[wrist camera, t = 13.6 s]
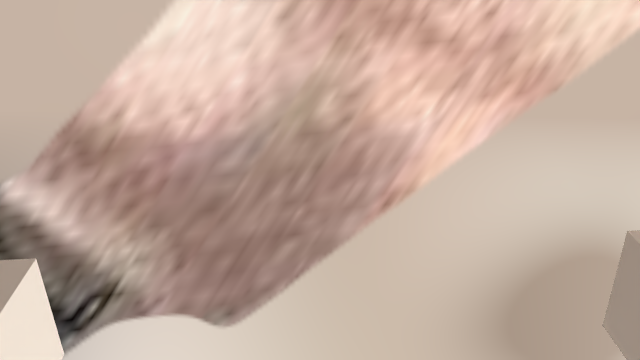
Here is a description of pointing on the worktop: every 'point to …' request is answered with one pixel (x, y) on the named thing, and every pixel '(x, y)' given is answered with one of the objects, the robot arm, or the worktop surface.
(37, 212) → the worktop surface
